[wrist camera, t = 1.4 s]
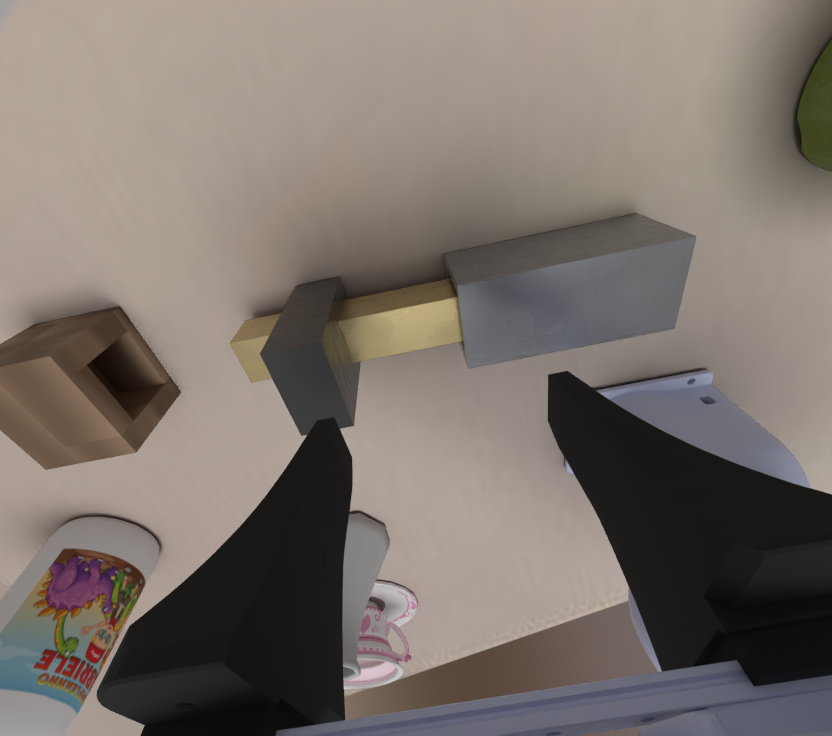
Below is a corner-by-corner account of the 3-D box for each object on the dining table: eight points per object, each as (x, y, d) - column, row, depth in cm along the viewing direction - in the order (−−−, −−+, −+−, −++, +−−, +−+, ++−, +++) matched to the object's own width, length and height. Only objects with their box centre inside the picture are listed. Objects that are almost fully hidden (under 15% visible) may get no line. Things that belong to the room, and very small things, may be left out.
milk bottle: (108, 572, 34) (-158, 1009, 17) (34, 527, 30) (-412, 1048, 13) (182, 553, 33) (-24, 994, 16) (117, 503, 29) (-250, 1032, 12)
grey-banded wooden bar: (630, 216, 19) (732, 258, 13) (619, 296, 21) (701, 360, 16) (240, 298, 20) (184, 369, 14) (274, 365, 22) (237, 447, 17)
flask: (290, 527, 32) (256, 670, 24) (363, 500, 30) (354, 643, 22) (335, 565, 36) (320, 699, 27) (403, 543, 34) (408, 678, 26)
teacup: (320, 633, 44) (312, 701, 39) (295, 583, 37) (280, 657, 32) (421, 622, 44) (425, 688, 39) (413, 571, 38) (417, 642, 32)
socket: (119, 306, 20) (49, 356, 16) (180, 392, 23) (136, 452, 19) (33, 324, 20) (-59, 378, 16) (105, 407, 23) (45, 469, 19)
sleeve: (636, 213, 19) (696, 236, 15) (625, 292, 21) (674, 328, 18) (443, 253, 19) (457, 285, 16) (454, 326, 22) (467, 368, 18)
